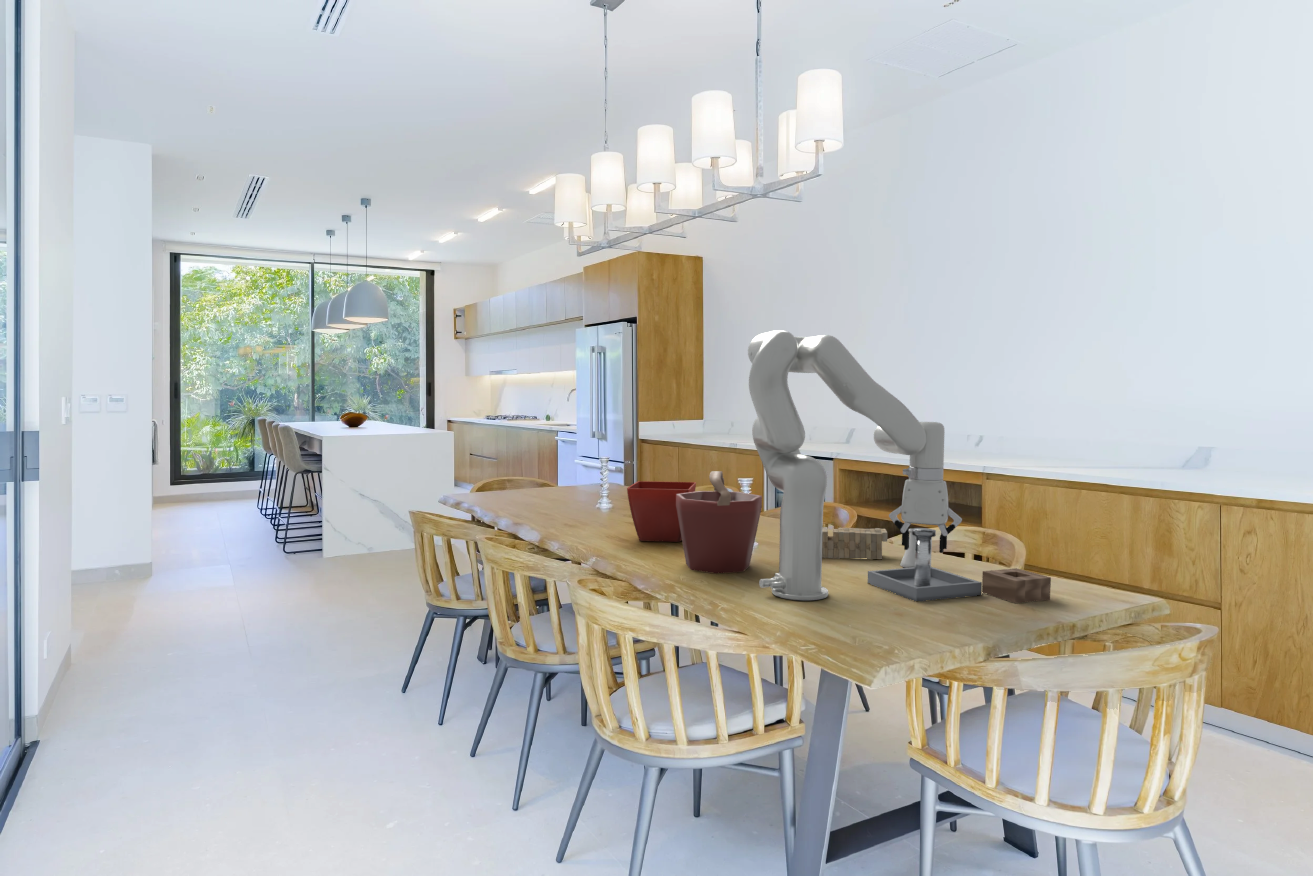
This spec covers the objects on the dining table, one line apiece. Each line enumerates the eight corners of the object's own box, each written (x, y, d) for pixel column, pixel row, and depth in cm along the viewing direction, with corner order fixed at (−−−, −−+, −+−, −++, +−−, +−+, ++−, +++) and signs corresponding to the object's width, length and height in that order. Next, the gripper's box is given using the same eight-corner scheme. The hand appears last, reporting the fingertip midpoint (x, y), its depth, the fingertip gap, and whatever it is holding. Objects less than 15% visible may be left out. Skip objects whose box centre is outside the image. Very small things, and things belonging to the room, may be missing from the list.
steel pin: (920, 589, 185) (922, 532, 185) (905, 584, 190) (907, 528, 189) (938, 587, 187) (940, 531, 186) (924, 582, 192) (925, 527, 191)
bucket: (746, 580, 197) (747, 478, 195) (660, 572, 204) (661, 474, 202) (765, 560, 220) (767, 469, 218) (688, 554, 227) (689, 466, 225)
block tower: (780, 559, 226) (888, 561, 221) (779, 530, 226) (887, 531, 220) (781, 554, 234) (885, 555, 228) (780, 525, 233) (885, 526, 228)
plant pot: (625, 542, 243) (626, 487, 243) (637, 532, 262) (638, 480, 261) (688, 545, 240) (689, 489, 239) (695, 534, 259) (696, 482, 258)
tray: (916, 601, 177) (916, 588, 177) (867, 583, 194) (867, 571, 194) (981, 595, 183) (981, 582, 183) (928, 578, 200) (929, 566, 200)
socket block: (1015, 603, 177) (1015, 580, 176) (981, 592, 186) (982, 571, 186) (1050, 599, 180) (1050, 577, 180) (1015, 589, 189) (1016, 568, 189)
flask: (929, 570, 209) (930, 532, 208) (900, 569, 210) (901, 531, 210) (926, 564, 216) (927, 527, 215) (898, 563, 218) (899, 526, 217)
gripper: (885, 474, 187) (883, 550, 188) (964, 478, 180) (962, 557, 181) (890, 471, 194) (888, 544, 195) (967, 475, 187) (964, 551, 188)
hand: (923, 550), depth 188 cm, fingers open, 7 cm apart
